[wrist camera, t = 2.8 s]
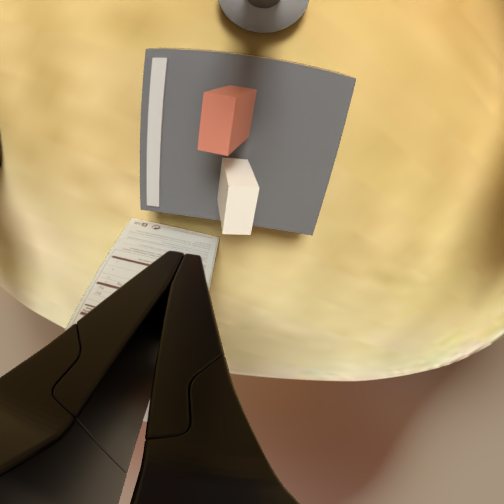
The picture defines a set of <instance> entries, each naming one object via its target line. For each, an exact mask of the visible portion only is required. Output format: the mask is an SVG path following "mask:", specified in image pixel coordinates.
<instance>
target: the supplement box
mask: <svg viewBox="0 0 504 504" xmlns="http://www.w3.org/2000/svg"><path fill="white" fill-rule="evenodd" d="M218 243H219V237H216V236H212V235H208V234H204V233H200V232H195V231H191V230H186V229H182V228H178V227H173V226H169V225H164V224H160V223H155V222H150V221H145V220H141V219H136V218H131V219H130V220H129V222H128V224H127V225H126V227H125V228H124V230H123V231H122V233H121V234H120V236H119V237H118V239H117V241H116V242H115V244H114V245H113V247H112V249H111V250H110V252H109V253H108V255H107V257H106V258H105V260H104V262H103V263H102V265H101V266H100V268H99V270H98V271H97V273H96V275H95V276H94V278H93V280H92V282H91V283H90V285H89V287H88V288H87V290H86V292H85V294H84V295H83V297H82V299H81V301H80V303H79V304H78V306H77V308H76V310H75V312H74V314H73V316H72V317H71V319H70V321H69V323H68V325H67V327H66V329H65V331H66V330H67V329H68V328H69V327H71V326H72V325H73V324H77V321H78V320H79V319H81V318H82V317H83V316H84V315H86V314H87V313H88V312H89V311H91V310H92V309H93V308H94V307H96V306H97V305H98V304H99V303H101V302H102V301H103V300H104V299H106V298H107V297H108V296H110V295H111V294H112V293H113V292H115V291H116V290H117V289H119V288H120V287H121V286H122V285H124V284H125V283H126V282H128V281H129V280H130V279H132V278H133V277H134V276H135V275H137V274H138V273H139V272H141V271H142V270H143V269H145V268H146V267H147V266H149V265H150V264H151V263H153V262H154V261H155V260H157V259H158V258H159V257H161V256H162V255H163V254H165V253H166V252H168V251H177V252H183V253H184V255H185V254H187V253H189V254H195V255H200V256H201V258H202V263H203V267H204V272H205V276H206V281H207V285H208V289H209V292H210V286H211V280H212V275H213V269H214V264H215V258H216V253H217V248H218ZM65 331H64V332H65ZM149 404H150V401H149ZM149 404H148V407H147V410H146V413H145V416H144V419H143V421H144V422H147V419H148V411H149Z"/></svg>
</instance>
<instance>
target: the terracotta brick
mask: <svg viewBox="0 0 504 504" xmlns="http://www.w3.org/2000/svg"><path fill="white" fill-rule="evenodd" d="M256 93H257V89H252V88H246V87H240V86H233V85H229V86H225V87H221V88H217V89H214V90H210V91H207V92H204V94H203V102H202V111H201V120H200V130H199V139H198V150H201V151H206V152H211V153H216V154H220V155H225V156H228V155H230V154H231V153H232V152H233V151H234V150H235V149H236V148H237V147H238V146H239V145H240V144H242V143H243V142H244V141H245V140H246V139H247V138H248V137H249V134H250V128H251V122H252V116H253V110H254V105H255V99H256Z"/></svg>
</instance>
